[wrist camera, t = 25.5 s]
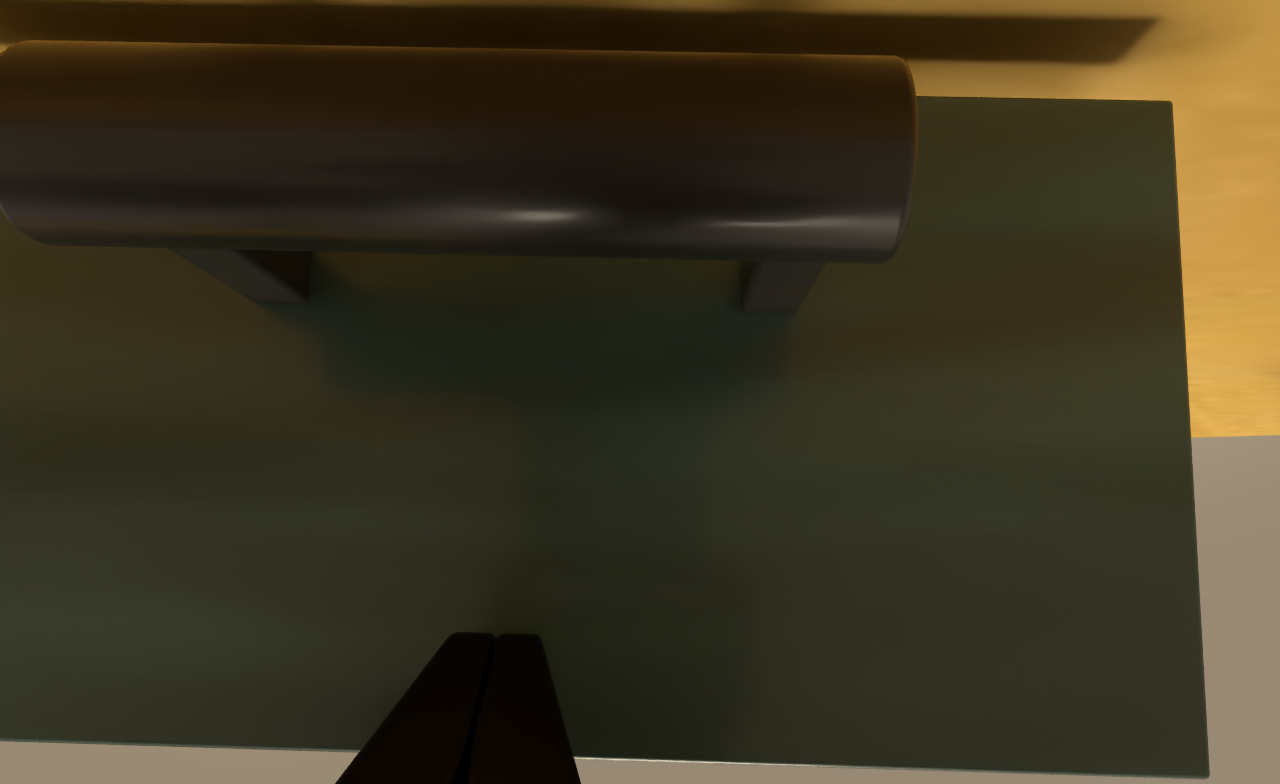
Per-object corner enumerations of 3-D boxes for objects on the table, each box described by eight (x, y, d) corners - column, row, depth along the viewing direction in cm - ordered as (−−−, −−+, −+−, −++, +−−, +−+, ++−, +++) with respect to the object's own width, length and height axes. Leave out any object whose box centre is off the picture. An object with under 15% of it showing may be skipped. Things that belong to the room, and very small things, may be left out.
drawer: (-530, -204, 7) (-770, 863, 6) (1489, -178, 7) (1613, 946, 6) (272, 306, 21) (243, 642, 20) (919, 322, 21) (925, 662, 20)
